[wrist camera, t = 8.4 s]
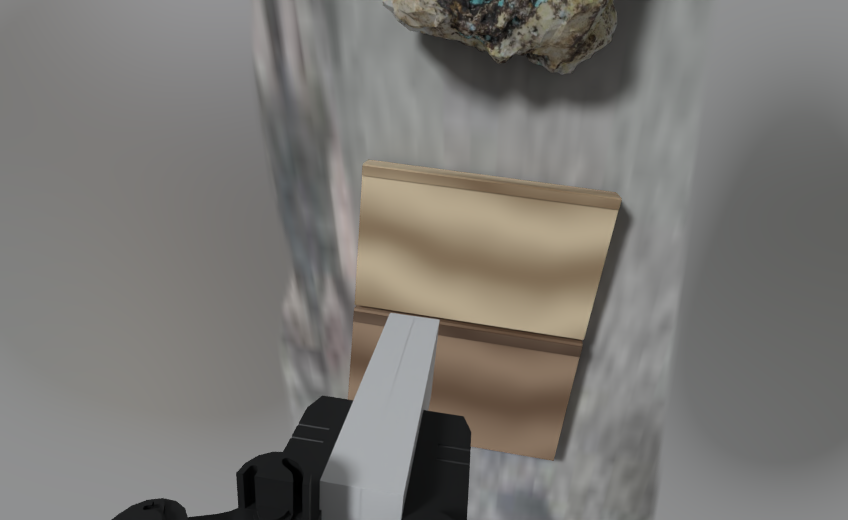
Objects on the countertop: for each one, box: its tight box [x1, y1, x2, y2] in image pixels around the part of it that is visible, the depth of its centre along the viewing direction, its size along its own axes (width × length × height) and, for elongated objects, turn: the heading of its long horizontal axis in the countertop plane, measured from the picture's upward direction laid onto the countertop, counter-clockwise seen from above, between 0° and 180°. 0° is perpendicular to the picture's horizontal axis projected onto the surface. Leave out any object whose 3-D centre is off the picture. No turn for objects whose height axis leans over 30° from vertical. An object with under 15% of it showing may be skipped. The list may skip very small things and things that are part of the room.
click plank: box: [355, 160, 622, 340], centre depth 33 cm, size 10×16×2 cm, turn 83°
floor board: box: [348, 305, 583, 461], centre depth 37 cm, size 10×16×2 cm, turn 83°
